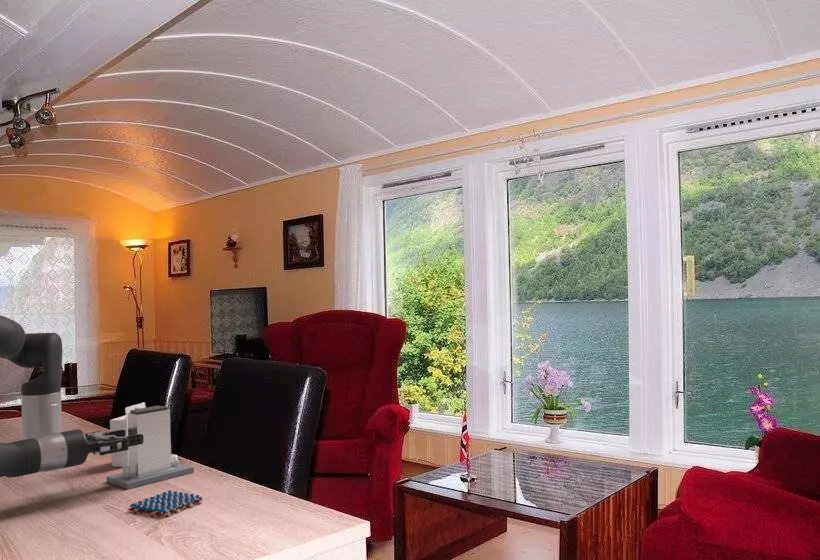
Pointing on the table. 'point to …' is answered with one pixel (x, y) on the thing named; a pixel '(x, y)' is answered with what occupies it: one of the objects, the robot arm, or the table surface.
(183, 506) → the woven mat
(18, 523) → the table surface
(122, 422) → the ink cartridge box
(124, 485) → the pin tray
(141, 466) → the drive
